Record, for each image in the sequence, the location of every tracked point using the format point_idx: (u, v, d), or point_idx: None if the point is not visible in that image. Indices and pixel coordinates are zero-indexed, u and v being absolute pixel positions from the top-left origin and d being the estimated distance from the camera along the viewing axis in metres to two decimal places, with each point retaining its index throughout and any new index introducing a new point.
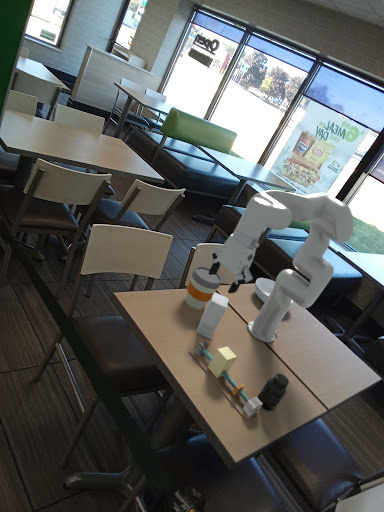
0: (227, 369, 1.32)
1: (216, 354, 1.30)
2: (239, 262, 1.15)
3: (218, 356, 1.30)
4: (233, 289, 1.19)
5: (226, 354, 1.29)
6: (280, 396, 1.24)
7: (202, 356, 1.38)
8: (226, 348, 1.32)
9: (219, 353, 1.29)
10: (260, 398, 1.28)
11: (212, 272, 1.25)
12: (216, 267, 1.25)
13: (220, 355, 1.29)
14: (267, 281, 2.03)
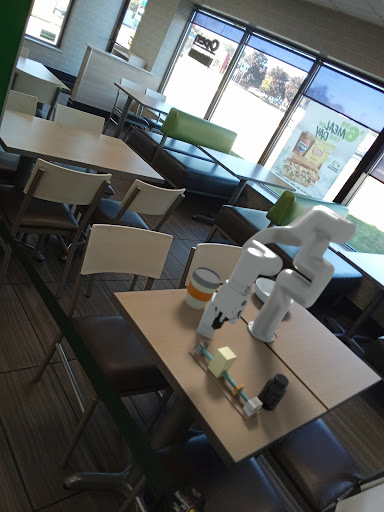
0: (227, 369, 1.32)
1: (216, 354, 1.30)
2: (234, 308, 1.22)
3: (218, 356, 1.30)
4: (218, 326, 1.29)
5: (226, 354, 1.29)
6: (280, 396, 1.24)
7: (202, 356, 1.38)
8: (226, 348, 1.32)
9: (219, 353, 1.29)
10: (260, 398, 1.28)
11: None
12: None
13: (220, 355, 1.29)
14: (267, 281, 2.03)
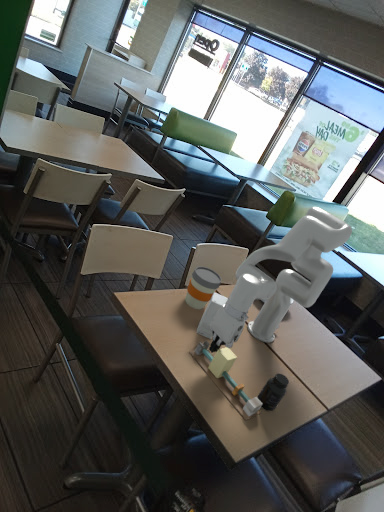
0: (227, 370, 1.32)
1: (216, 354, 1.30)
2: (230, 332, 1.24)
3: (218, 356, 1.30)
4: (215, 349, 1.31)
5: (227, 355, 1.29)
6: (280, 396, 1.24)
7: (202, 356, 1.38)
8: (226, 348, 1.32)
9: (219, 353, 1.29)
10: (260, 398, 1.28)
11: None
12: None
13: (220, 356, 1.29)
14: None
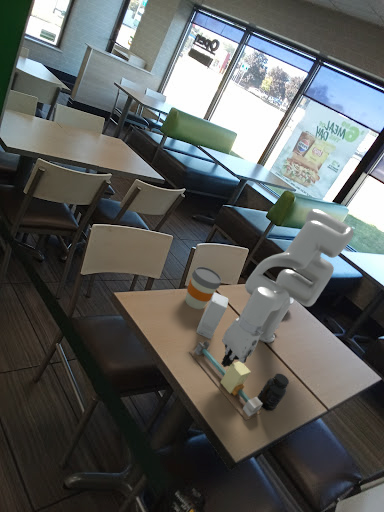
0: None
1: (229, 369, 1.26)
2: (244, 347, 1.20)
3: (231, 371, 1.26)
4: (228, 363, 1.27)
5: (240, 369, 1.25)
6: (280, 396, 1.24)
7: (202, 356, 1.38)
8: (239, 363, 1.28)
9: (232, 368, 1.25)
10: (260, 398, 1.28)
11: None
12: None
13: (234, 370, 1.25)
14: None
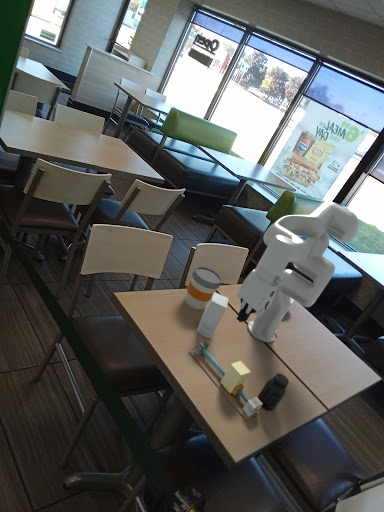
0: None
1: (229, 369, 1.26)
2: (261, 299, 1.16)
3: (231, 371, 1.26)
4: (244, 318, 1.22)
5: (240, 369, 1.25)
6: (280, 396, 1.24)
7: (202, 356, 1.38)
8: (239, 363, 1.28)
9: (232, 368, 1.25)
10: (260, 398, 1.28)
11: None
12: None
13: (234, 370, 1.25)
14: None
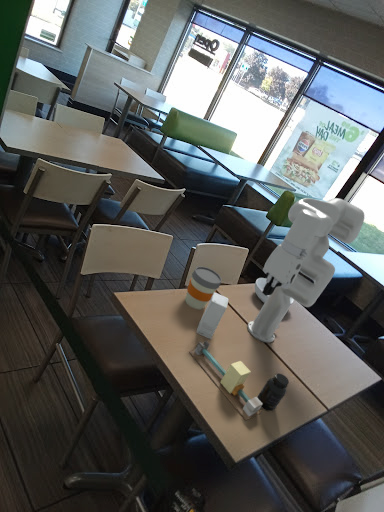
0: None
1: (229, 369, 1.26)
2: (288, 271, 1.21)
3: (231, 371, 1.26)
4: (269, 291, 1.27)
5: (240, 369, 1.25)
6: (280, 396, 1.24)
7: (202, 356, 1.38)
8: (239, 363, 1.28)
9: (232, 368, 1.25)
10: (260, 398, 1.28)
11: None
12: None
13: (234, 370, 1.25)
14: None
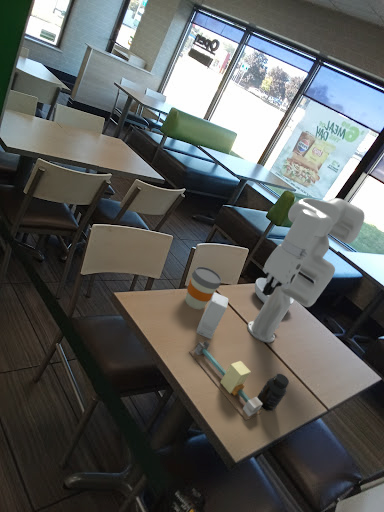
0: None
1: (229, 369, 1.26)
2: (288, 271, 1.21)
3: (231, 371, 1.26)
4: (269, 291, 1.27)
5: (240, 369, 1.25)
6: (280, 396, 1.24)
7: (202, 356, 1.38)
8: (239, 363, 1.28)
9: (232, 368, 1.25)
10: (260, 398, 1.28)
11: None
12: None
13: (234, 370, 1.25)
14: None
